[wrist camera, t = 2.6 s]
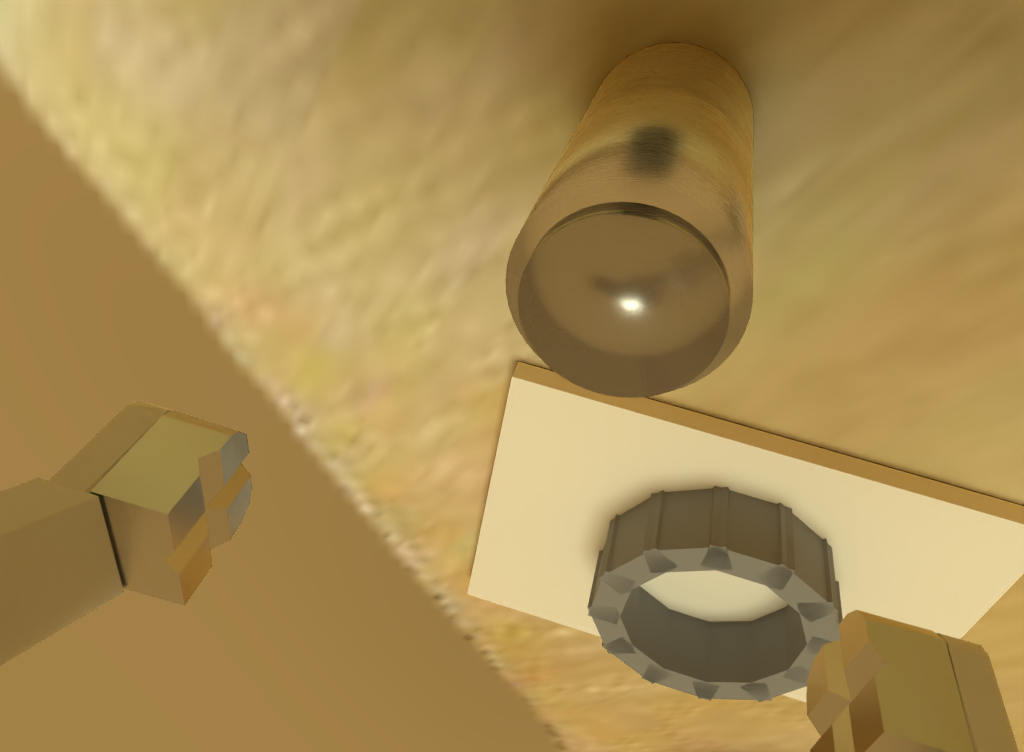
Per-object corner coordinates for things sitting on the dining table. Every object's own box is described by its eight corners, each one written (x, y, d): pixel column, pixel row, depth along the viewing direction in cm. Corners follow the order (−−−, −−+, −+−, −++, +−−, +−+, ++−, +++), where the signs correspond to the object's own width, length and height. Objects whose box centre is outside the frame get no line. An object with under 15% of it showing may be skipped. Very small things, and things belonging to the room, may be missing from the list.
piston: (779, 65, 21) (795, 234, 13) (721, 220, 24) (704, 439, 16) (610, 24, 21) (519, 163, 13) (574, 182, 24) (482, 375, 16)
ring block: (1052, 514, 27) (1090, 605, 24) (873, 705, 36) (885, 790, 33) (518, 361, 29) (490, 427, 26) (473, 577, 38) (448, 646, 35)
